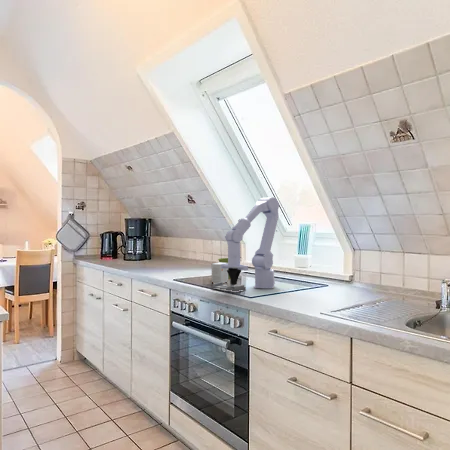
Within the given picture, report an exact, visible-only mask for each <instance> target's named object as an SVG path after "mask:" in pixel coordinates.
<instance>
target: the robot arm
mask: <svg viewBox="0 0 450 450" xmlns="http://www.w3.org/2000/svg"><path fill="white" fill-rule="evenodd" d="M279 207H280V202H279V201H278V199H277V198H276V197H274V196H272V197H260V198H259V199H257V201H255V204H254V205H253V207H252V208H251V209H250V211H249V212H248V214H247V215H246V216H245V217H242V218H240V219H238V220H237V223H236V224H235V225H234V226H232V229H230V230H228V231H227V232H226V235H225V236H224V238H225V241H226V243H227V258H228V264H221V268H227V269H228V270H227V272H228V274H229V276H230V279H231V282H232V285H234V286H237V285H238V280H239V276H240V274H241V273H242V271H249V265H243V264H241V242H242V240H243V238H244V235H245V233H247V231H248V230H249V229H250V227H251V225H252V224H251V223H252V222H253V221H254V220H255V219H256V218H257V217H258V216H259V215H260V214H261V213H262V214H263V215H264V216H265V217H266V218H265V219H266V220H265V224H264V227H263V228H264V229H263V233H262V236H261V240H260V243H259V247H258V249H257V250H256V251H255V252H254V255H253V257H252V258H251V264H252V266H253V267H254V268H253V269H254V280H255V281H254V286H253V287H252V288H253V289H274V287H275V269H271V268H272V267H273V264H274V259H273V258H274V254H273V253H272V251H271V250H272V247H273V246H272V245H273V241H274V237H275V232H276V229H277V225H278V224H277V223H278V220H279ZM230 267H231V268H230Z"/></svg>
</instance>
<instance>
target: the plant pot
mask: <svg viewBox="0 0 450 450" xmlns="http://www.w3.org/2000/svg"><path fill="white" fill-rule="evenodd" d="M217 260H218V262H222V263H228V257H222V258H217ZM230 268H231V267H230ZM228 279H230V276H229V274H228Z"/></svg>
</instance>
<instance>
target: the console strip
mask: <svg viewBox="0 0 450 450" xmlns="http://www.w3.org/2000/svg"><path fill="white" fill-rule="evenodd" d="M212 288H220V289H226V290H232V291H239V290H245V291H247V289H246V286H245V284H239V285H234V287H227V284H223V282H219V283H215V284H212V286H211V289H212Z"/></svg>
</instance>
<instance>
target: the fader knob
mask: <svg viewBox="0 0 450 450" xmlns="http://www.w3.org/2000/svg"><path fill="white" fill-rule="evenodd" d="M226 285H227V287H234V286H235V285H232V282H231V279H227V283H226Z"/></svg>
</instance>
